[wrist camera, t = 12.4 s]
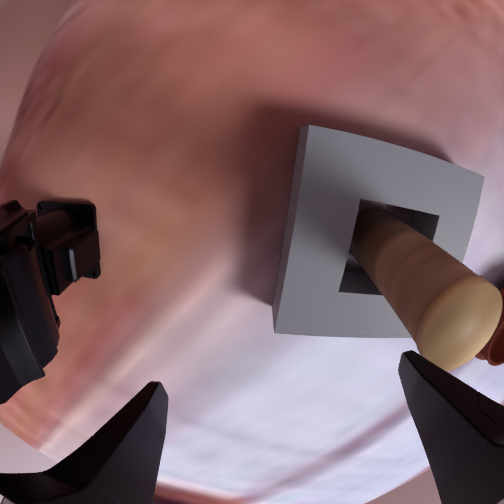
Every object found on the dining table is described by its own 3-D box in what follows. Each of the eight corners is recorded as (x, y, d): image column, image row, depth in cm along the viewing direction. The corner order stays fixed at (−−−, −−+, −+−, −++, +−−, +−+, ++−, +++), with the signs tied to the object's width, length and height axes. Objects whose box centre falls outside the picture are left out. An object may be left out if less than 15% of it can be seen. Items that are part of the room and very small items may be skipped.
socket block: (271, 306, 23) (274, 333, 20) (299, 127, 18) (309, 124, 15) (415, 315, 24) (431, 336, 21) (458, 169, 19) (484, 176, 15)
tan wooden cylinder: (335, 249, 21) (404, 362, 10) (364, 196, 20) (472, 267, 8) (379, 271, 22) (458, 377, 10) (408, 223, 21) (513, 303, 9)
